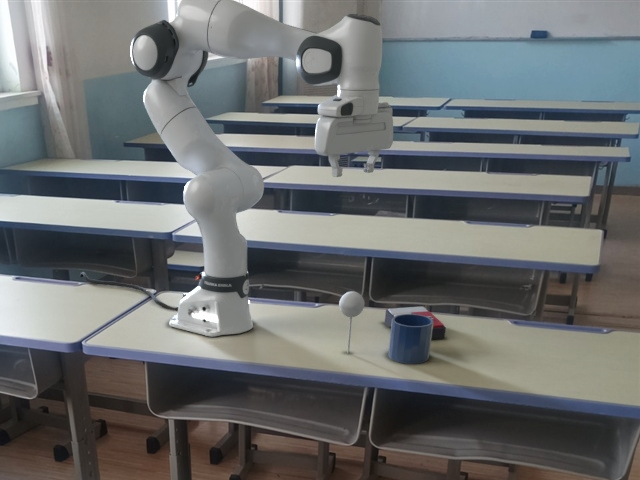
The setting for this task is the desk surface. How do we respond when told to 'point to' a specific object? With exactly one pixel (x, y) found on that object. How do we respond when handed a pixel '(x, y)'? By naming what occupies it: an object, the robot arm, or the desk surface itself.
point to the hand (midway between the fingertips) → (352, 174)
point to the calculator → (437, 325)
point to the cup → (410, 338)
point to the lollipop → (351, 307)
